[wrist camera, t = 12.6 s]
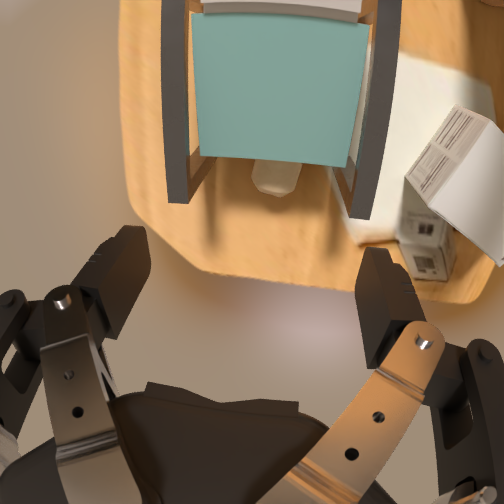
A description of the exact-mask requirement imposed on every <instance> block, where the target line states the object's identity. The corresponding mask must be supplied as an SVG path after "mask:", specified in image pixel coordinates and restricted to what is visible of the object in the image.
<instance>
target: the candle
mask: <svg viewBox="0 0 504 504" xmlns="http://www.w3.org/2000/svg"><path fill="white" fill-rule="evenodd" d="M302 164H303V163H299V162H288V161H277V160H264V159H255V162H254V166H253V171H252V175H251V180H252V181H253V183H254V184H255V186H256V187H257V189H258V191H260V192H262V193H265V194H271V195H274V196H276V197H283V196H284V195H286V194H288V193H290V192H292V191H294V190H295V187H296V184H297V180H298V177H299V174H300V170H301V167H302Z"/></svg>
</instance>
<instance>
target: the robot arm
mask: <svg viewBox="0 0 504 504" xmlns="http://www.w3.org/2000/svg"><path fill="white" fill-rule="evenodd" d="M480 1H482V2H483V3H485V4H487V5H490V6H504V0H480ZM150 269H151V258H150V253H149V248H148V241H147V235H146V230H145V228H144V227H143V226H131V225H124V226H123V227H122V228H121V229H120V231H119V232H118V233H117V234H116V236H115V237H111V238H109V239H108V240H106V241H105V242H103V243H102V244H100V246H99V247H98V248H97V250H96V251H95V252H94V255H92V256H91V257H90V259H89V261H88V262H86V264H85V265H84V266H83V268H82V269H81V270H80V272H79V273H78V274H77V276H76V277H75V278H74V280H73V281H72V282H71V284H70V285H62V286H59V287H56V288H54V289H53V290H51V291H50V292H49V293H48V294H47V295H46V296H45V298H44V300H37V301H27V299H26V297H25V295H24V293H23V292H22V291H20V290H17V289H14V290H9V291H7V292H5V293H3V294H1V295H0V504H397V503H396V502H395V501H394V500H393V499H392V498H391V497H390V496H389V495H388V493H386V491H385V490H384V489H383V488H382V487H381V486H380V485H379V483H378V482H377V481H376V480H375V478H376V477H377V475H378V474H379V473H380V471H381V470H382V468H383V467H384V465H385V464H386V462H387V461H388V459H389V458H390V456H391V454H392V453H393V452H394V450H395V448H396V447H397V445H398V443H399V442H400V440H401V439H402V437H403V435H404V434H405V432H406V430H407V428H408V427H409V425H410V423H411V422H412V420H413V418H414V416H415V414H416V413H417V411H418V409H419V407H420V405H421V404H423V405H427V406H430V410H431V417H432V424H433V432H434V439H435V449H436V459H437V470H438V485H439V486H438V487H439V497H438V498H437V499H435V501H434V502H433V503H432V504H504V363H503V360H502V357H501V355H500V352H499V351H498V349H497V348H496V347H495V346H494V345H493V344H492V343H490V342H489V341H487V340H484V339H475V340H473V341H471V342H470V343H469V345H468V346H467V348H462V347H459V346H456V345H452V344H449V343H446V342H445V340H444V336H443V335H442V333H441V332H440V331H439V329H438V328H436V327H435V326H434V325H432V324H430V323H428V322H427V321H426V319H425V316H424V313H423V310H422V308H421V305H420V302H419V300H418V297H417V294H415V289H414V287H413V285H412V282H411V279H410V277H409V274H408V273H407V272H406V270H405V269H404V268H403V267H402V266H401V265H400V264H397V263H393V261H392V258H391V256H390V253H389V251H388V249H386V248H376V247H366V249H365V251H364V255H363V258H362V262H361V266H360V269H359V273H358V276H357V279H356V284H355V299H356V305H357V310H358V316H359V321H360V327H361V332H362V338H363V344H364V351H365V357H366V364H367V369H376V370H375V371H374V372H373V374H372V375H371V377H370V378H369V379H368V381H367V382H366V383H365V385H364V386H363V387H362V389H361V390H360V392H359V393H358V394H357V396H356V397H355V398H354V399H353V401H352V402H351V403H350V404H349V406H348V407H347V408H346V410H345V411H344V412H343V413H342V414H341V416H340V417H339V418H338V419H337V420H336V422H335V423H334V424H333V425H332V426H331V428H329V427H328V426H326V425H325V424H323V423H322V422H320V421H319V420H317V419H315V418H313V417H311V416H308V415H306V414H303V413H300V412H298V406H299V402H296V401H281V400H269V399H254V400H245V401H236V402H225V403H219V402H215V401H213V400H210V399H208V398H205V397H202V396H200V395H198V394H195V393H193V392H190V391H188V390H185V389H183V388H178V387H173V386H168V385H162V384H157V383H153V382H148V383H147V385H146V388H145V391H144V392H134V393H129V394H125V395H122V396H120V394H119V392H118V390H117V387H116V384H115V382H114V379H113V376H112V373H111V370H110V367H109V363H108V360H107V357H106V354H105V351H104V348H103V345H102V342H103V340H104V338H110V339H115V340H117V338H118V335H119V334H120V331H121V330H122V327H123V325H124V323H125V321H126V319H127V317H128V315H129V314H130V312H131V309H132V308H133V306H134V303H135V302H136V300H137V298H138V296H139V294H140V292H141V290H142V288H143V286H144V284H145V282H146V281H147V279H148V277H149V274H150ZM11 344H13V345H14V347H15V348H16V350H17V351H16V353H15V355H14V357H13V358H12V360H11V362H10V364H9V366H8V367H7V369H6V371H5V373H4V374H3V372H2V368H1V365H2V360H3V358H4V356H5V354H6V353H7V351H8V349H9V347H10V346H11ZM42 378H43V381H44V387H45V393H46V398H47V405H48V410H49V415H50V420H51V424H52V429H53V433H54V437H53V438H51V439H49V440H48V441H46V442H45V443H43V444H42V445H40V446H38V447H36V448H35V449H33V450H32V451H30V452H28V453H27V454H25V455H24V456H22V457H21V455H20V453H19V452H18V443H17V438H18V435H19V433H20V430H21V428H22V425H23V422H24V420H25V418H26V415H27V413H28V410H29V408H30V406H31V403H32V401H33V399H34V396H35V394H36V392H37V389H38V387H39V385H40V383H41V380H42ZM469 403H470V405H469ZM470 407H471V409H470ZM471 411H472V414H471ZM472 416H473V419H472Z"/></svg>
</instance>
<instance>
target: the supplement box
mask: <svg viewBox="0 0 504 504" xmlns="http://www.w3.org/2000/svg"><path fill="white" fill-rule="evenodd" d="M405 177H406V179H407V180H408V181H409V183H410V184H411V185H412V187H413V188H414V189H415V191H416V192H417V193H418V195H419V196H420V197H421V199H422V200H423V201H424V203H425V204H426V205H427V207H428V208H429V209H431V210H432V211H433V212H435V213H436V214H437V215H439V216H440V217H441V218H443V219H444V220H445V221H447V222H448V223H449V224H451V225H452V226H453V227H454V228H456V229H457V230H458V231H460V232H461V233H462V234H463V235H464V236H466V237H467V238H468V239H469V240H470V241H472V242H473V243H474V244H475V245H476V246H477V247H479V248H480V249H481V250H482V251H483V252H484V253H485V254H486V255H488V256H489V257H490V258H491V259H492V260H493V261H494V262H495V263H496V264H497V265H498V267H501V265H503V264H504V133H503V132H502V131H501V130H500V129H499V128H498V127H497V126H496V125H495V123H494V122H493V121H492V120H491V119H488V118H486V117H484V116H482V115H480V114H477V113H475V112H473V111H470V110H468V109H466V108H463V107H461V106H458V105H454V107H453V108H452V110H451V111H450V113H449V114H448V116H447V117H446V119H445V120H444V121H443V123H442V124H441V126H440V127H439V129H438V130H437V132H436V133H435V135H434V136H433V137H432V139H431V140H430V142H429V143H428V145H427V146H426V147H425V149H424V150H423V152H422V153H421V155H420V156H419V157H418V159H417V160H416V161H415V163H414V164H413V166H412V167H411V168H410V170H409V171H408V172H407V173H406V175H405Z"/></svg>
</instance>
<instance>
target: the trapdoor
mask: <svg viewBox="0 0 504 504" xmlns="http://www.w3.org/2000/svg"><path fill="white" fill-rule="evenodd" d="M201 3H204V13H195V14H191V18H192V41H193V60H194V77H195V93H196V107H197V121H198V134H199V146H200V156H214V157H234V158H250V159H264V160H277V161H288V162H299V163H309V164H318V165H327V166H335V167H343V168H345V167H346V163H347V158H348V153H349V148H350V143H351V138H352V133H353V128H354V122H355V117H356V111H357V106H358V100H359V94H360V88H361V82H362V76H363V70H364V63H365V56H366V49H367V42H368V35H369V27H370V26H369V25H366V24H361V23H357V20H358V13H361V4H362V0H201Z"/></svg>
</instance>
